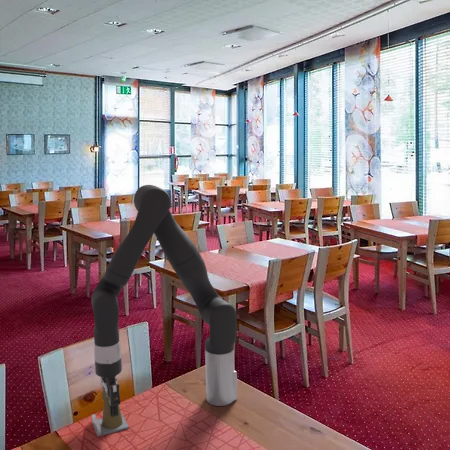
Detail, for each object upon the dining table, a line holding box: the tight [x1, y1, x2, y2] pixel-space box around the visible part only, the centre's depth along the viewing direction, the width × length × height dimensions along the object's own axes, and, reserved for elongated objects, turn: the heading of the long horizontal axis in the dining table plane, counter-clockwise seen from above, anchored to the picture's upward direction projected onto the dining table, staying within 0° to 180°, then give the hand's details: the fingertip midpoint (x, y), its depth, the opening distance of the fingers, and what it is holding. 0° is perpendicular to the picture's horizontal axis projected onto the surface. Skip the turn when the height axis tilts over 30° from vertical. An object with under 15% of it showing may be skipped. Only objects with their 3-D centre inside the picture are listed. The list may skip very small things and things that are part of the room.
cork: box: [101, 389, 123, 429], centre depth 148 cm, size 6×6×11 cm
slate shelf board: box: [97, 412, 129, 437], centre depth 149 cm, size 8×8×1 cm
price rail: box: [91, 413, 101, 437], centre depth 147 cm, size 1×8×2 cm, turn 25°
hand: (111, 408), depth 148 cm, fingers open, 8 cm apart
